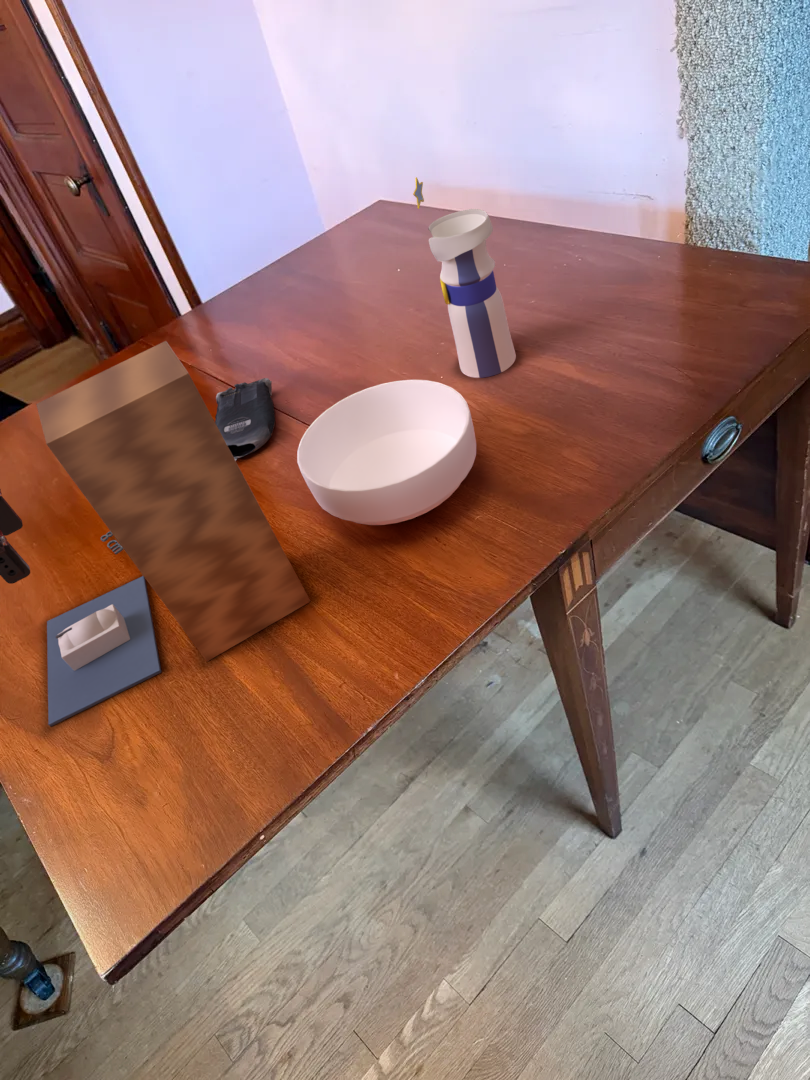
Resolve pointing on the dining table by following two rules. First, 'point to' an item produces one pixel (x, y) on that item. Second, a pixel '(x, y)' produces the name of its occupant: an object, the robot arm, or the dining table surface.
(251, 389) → the electronic device
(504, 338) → the water bottle
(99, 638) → the white boxy piece
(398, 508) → the bowl
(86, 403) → the block
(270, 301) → the dining table surface
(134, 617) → the mouse pad
